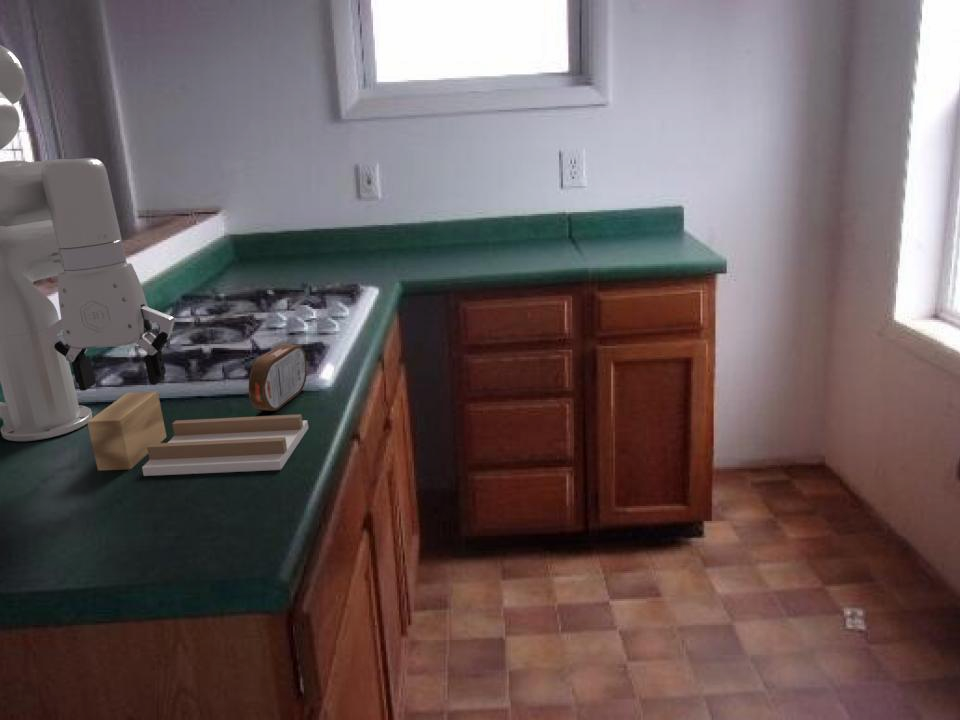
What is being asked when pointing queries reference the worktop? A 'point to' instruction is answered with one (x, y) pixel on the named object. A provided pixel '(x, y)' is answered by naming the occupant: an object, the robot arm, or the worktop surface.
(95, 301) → the robot arm
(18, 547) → the worktop surface
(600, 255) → the worktop surface
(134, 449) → the oak block
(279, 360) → the tin
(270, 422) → the cradle
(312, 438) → the worktop surface
